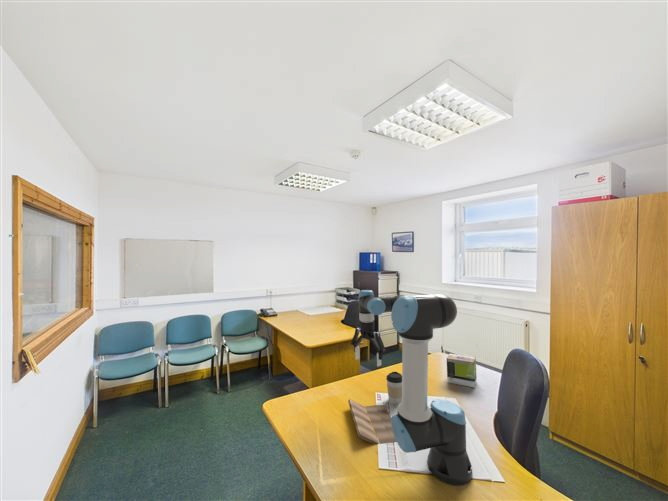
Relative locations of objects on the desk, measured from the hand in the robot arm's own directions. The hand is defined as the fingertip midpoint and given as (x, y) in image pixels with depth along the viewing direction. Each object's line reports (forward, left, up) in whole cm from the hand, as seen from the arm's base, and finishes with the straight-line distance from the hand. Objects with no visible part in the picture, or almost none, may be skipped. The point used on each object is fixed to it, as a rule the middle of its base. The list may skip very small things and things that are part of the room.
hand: (368, 362), depth 145 cm
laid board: (-15, -3, -23) cm, 28 cm away
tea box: (+18, -61, -24) cm, 68 cm away
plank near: (-21, +7, -21) cm, 31 cm away
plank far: (-8, +7, -21) cm, 23 cm away
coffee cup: (+2, -15, -24) cm, 28 cm away
